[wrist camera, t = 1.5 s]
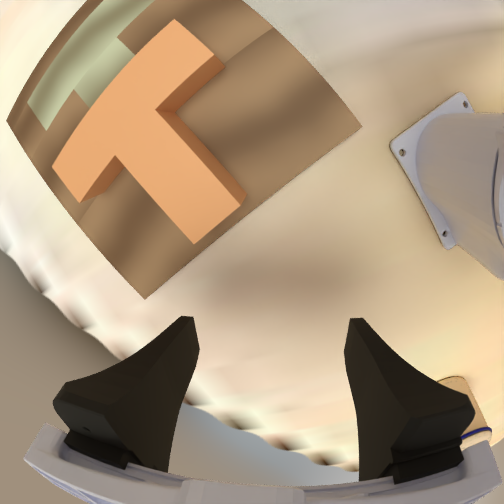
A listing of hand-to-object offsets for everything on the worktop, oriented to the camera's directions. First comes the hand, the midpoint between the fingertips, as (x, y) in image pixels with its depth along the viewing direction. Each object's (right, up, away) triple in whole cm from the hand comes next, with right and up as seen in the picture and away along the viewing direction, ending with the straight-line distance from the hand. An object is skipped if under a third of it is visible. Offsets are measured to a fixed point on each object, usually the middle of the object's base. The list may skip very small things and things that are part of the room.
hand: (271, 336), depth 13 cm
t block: (-6, +10, +4) cm, 12 cm away
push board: (-9, +14, +4) cm, 17 cm away
